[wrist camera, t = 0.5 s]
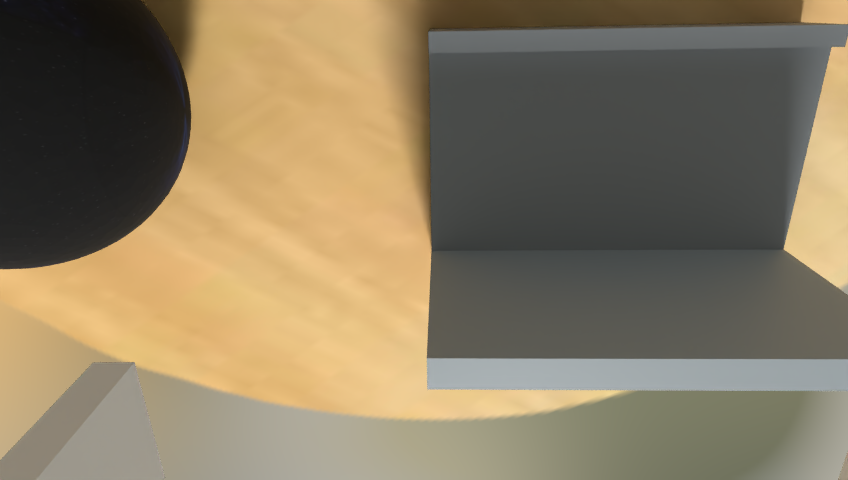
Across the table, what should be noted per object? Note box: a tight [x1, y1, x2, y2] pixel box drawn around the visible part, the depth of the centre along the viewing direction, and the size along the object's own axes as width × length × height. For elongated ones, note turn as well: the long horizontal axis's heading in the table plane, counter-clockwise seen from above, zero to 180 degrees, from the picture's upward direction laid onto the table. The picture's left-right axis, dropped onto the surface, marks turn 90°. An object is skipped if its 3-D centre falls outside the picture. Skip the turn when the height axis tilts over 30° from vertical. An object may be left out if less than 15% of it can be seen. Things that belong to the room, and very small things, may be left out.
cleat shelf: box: [427, 22, 848, 391], centre depth 27 cm, size 14×20×14 cm
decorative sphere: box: [0, 0, 191, 269], centre depth 26 cm, size 15×15×15 cm
